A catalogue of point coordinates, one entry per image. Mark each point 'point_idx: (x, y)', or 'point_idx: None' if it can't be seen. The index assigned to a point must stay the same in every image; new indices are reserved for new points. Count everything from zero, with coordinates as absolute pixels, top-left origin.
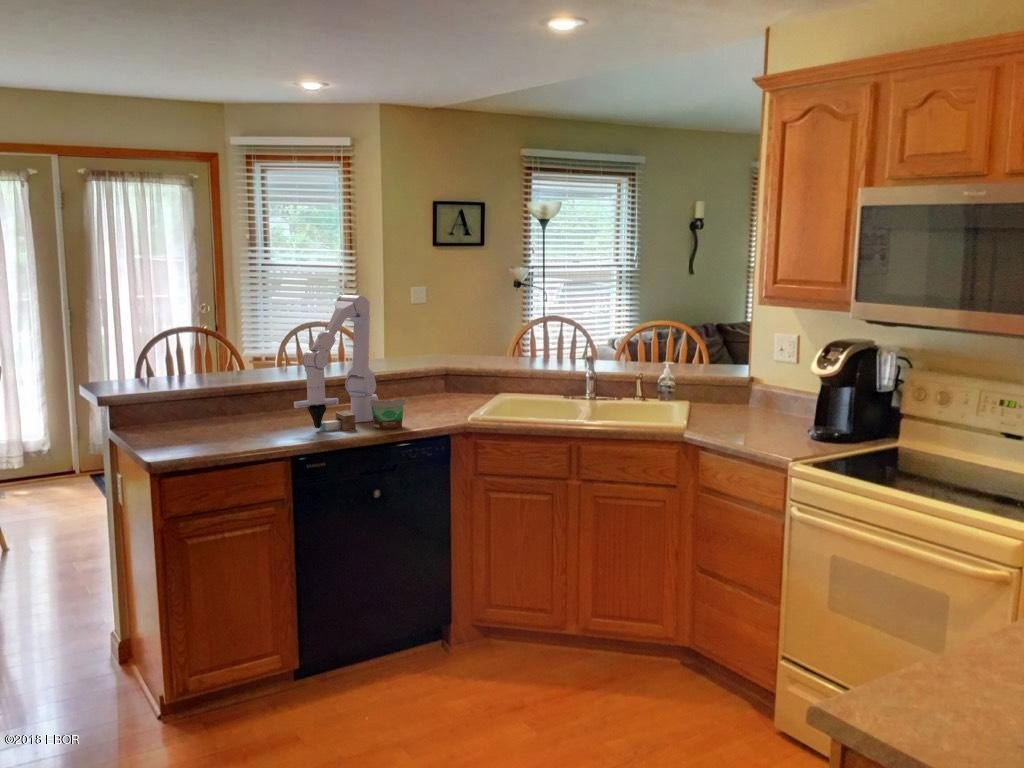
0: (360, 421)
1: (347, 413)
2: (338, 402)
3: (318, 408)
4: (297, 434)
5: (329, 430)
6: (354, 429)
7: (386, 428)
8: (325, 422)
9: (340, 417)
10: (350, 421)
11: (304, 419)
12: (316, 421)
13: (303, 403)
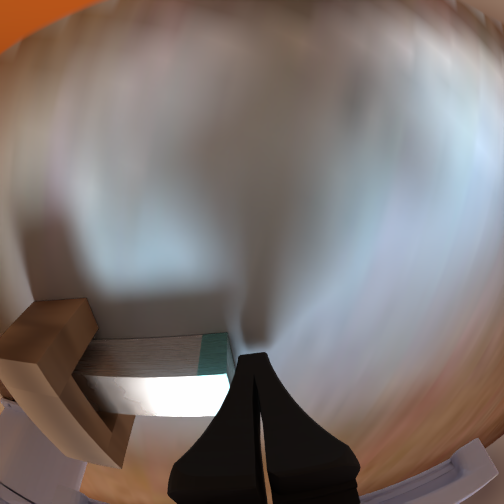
0: None
1: (40, 415)
2: (55, 497)
3: (260, 488)
4: (388, 307)
5: (175, 338)
6: (37, 301)
7: None
8: (194, 388)
9: (82, 401)
10: (25, 331)
11: None
12: (274, 383)
13: (447, 496)
